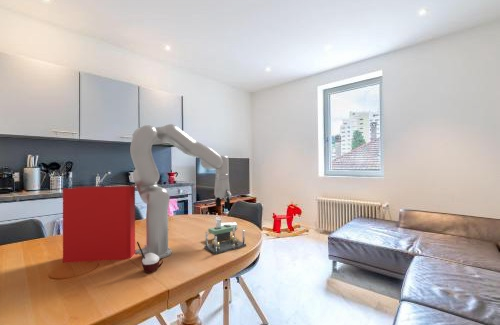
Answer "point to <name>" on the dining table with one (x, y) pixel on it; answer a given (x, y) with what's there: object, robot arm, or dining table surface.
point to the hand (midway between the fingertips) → (222, 207)
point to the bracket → (218, 223)
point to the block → (223, 236)
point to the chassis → (225, 244)
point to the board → (221, 229)
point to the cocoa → (150, 261)
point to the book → (98, 223)
